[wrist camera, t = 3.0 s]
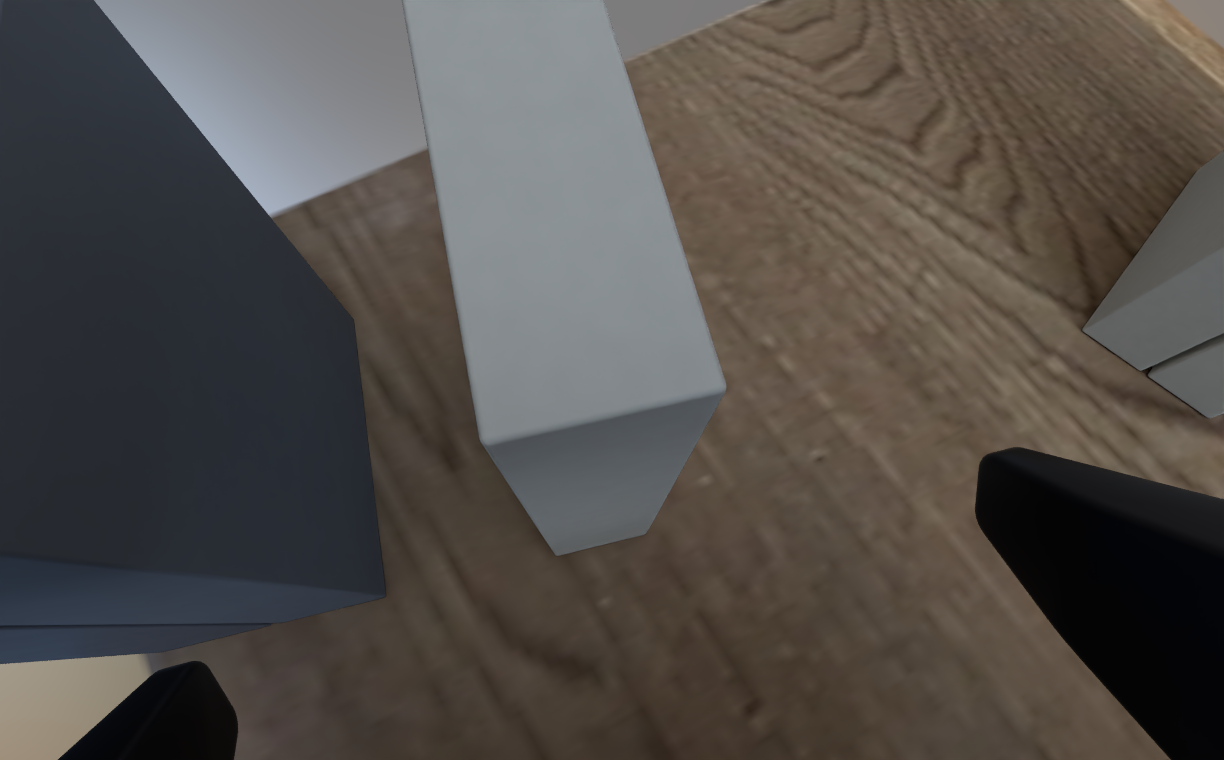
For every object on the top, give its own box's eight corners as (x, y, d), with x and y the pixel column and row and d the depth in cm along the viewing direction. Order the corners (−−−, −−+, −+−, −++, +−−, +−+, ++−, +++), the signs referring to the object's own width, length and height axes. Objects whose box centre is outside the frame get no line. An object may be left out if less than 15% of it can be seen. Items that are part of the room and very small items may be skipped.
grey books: (387, 596, 19) (-178, 535, 5) (161, 652, 18) (-1166, 750, 4) (354, 318, 22) (-58, -190, 8) (159, 358, 21) (-644, -121, 7)
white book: (647, 534, 19) (730, 389, 7) (555, 556, 19) (479, 446, 7) (581, 273, 22) (560, -140, 10) (500, 290, 22) (380, -115, 10)
